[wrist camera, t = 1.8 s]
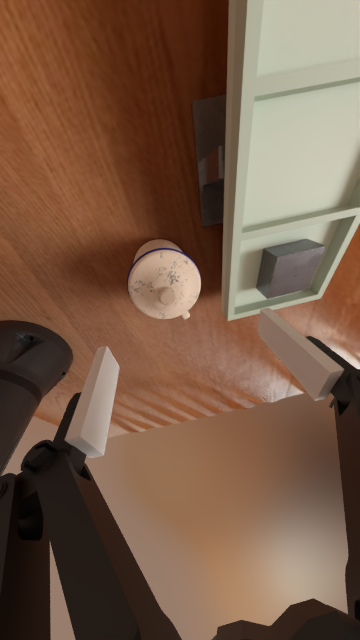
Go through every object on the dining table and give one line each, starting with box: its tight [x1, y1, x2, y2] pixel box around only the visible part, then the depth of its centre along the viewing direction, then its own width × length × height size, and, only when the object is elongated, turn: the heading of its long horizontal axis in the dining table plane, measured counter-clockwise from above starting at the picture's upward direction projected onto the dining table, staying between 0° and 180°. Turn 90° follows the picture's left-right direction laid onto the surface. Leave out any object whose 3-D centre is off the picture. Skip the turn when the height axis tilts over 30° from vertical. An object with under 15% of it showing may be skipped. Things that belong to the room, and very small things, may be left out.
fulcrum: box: [191, 94, 227, 227], centre depth 20 cm, size 18×12×7 cm, turn 100°
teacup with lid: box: [127, 239, 201, 319], centre depth 24 cm, size 12×9×12 cm
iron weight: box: [256, 239, 326, 299], centre depth 23 cm, size 6×6×3 cm
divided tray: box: [221, 0, 360, 321], centre depth 15 cm, size 16×38×3 cm, turn 10°
